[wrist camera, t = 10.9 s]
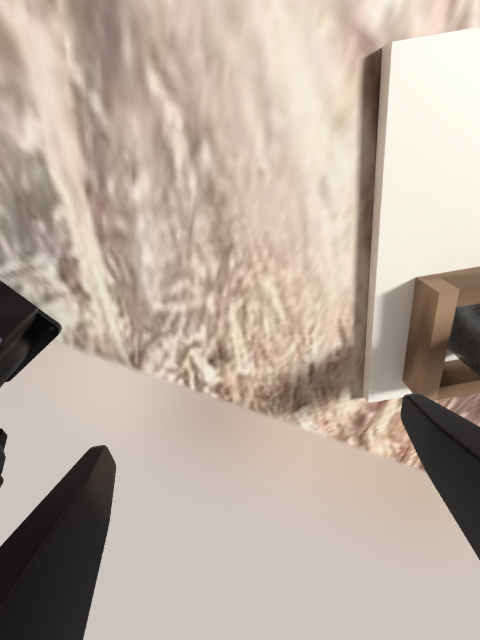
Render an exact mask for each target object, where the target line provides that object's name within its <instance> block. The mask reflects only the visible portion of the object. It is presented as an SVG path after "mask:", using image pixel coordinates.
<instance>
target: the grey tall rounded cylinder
mask: <svg viewBox="0 0 480 640" xmlns="http://www.w3.org/2000/svg"><path fill="white" fill-rule="evenodd" d="M447 349H448V350H449V351H451V352H452V353H453V354H454V355H455V356H456V357H457V358H459V359H460V360H461V361H462V362H463V363H464V364H465V365H467V366H468V367H469V368H470V369H471V370H472V371H473V372H475V373H476V374H477V375H478V376H479V377H480V303H479V304H473V305H467V306H461V307H456V309H455V314H454V319H453V324H452V329H451V334H450V338H449V343H448V348H447Z"/></svg>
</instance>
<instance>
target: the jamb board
mask: <svg viewBox="0 0 480 640" xmlns="http://www.w3.org/2000/svg"><path fill="white" fill-rule="evenodd" d="M479 266H480V27H477V28H471V29H465V30H459V31H454V32H448V33H442V34H436V35H430V36H424V37H418V38H412V39H406V40H400V41H394V42H391V43H389V44H387V45H386V46H384V47H382V60H381V78H380V96H379V114H378V132H377V150H376V168H375V186H374V203H373V221H372V239H371V257H370V275H369V293H368V311H367V329H366V347H365V365H364V383H363V396H364V397H365V399H366V401H367V402H368V403H371V402H377V401H382V400H388V399H394V398H400V397H404V395H406V394H412V392H411V391H410V389H409V388H408V387H407V386H406V384H405V383H404V382H403V381H402V378H403V370H404V363H405V355H406V348H407V340H408V333H409V325H410V317H411V310H412V302H413V295H414V287H415V279H416V277H420V276H426V275H432V274H438V273H444V272H450V271H456V270H462V269H468V268H473V267H479ZM457 359H459V358H457V357H456V356H455V355H454V354H453V353H452V352H451V351H449V350H448V349H447V353H446V358H445V361H451V360H457Z"/></svg>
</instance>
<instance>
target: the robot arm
mask: <svg viewBox="0 0 480 640" xmlns="http://www.w3.org/2000/svg"><path fill="white" fill-rule="evenodd" d="M50 327H52V328H54V329H55V331H53V330H51V329H50ZM61 330H62V327H61V325H60V324H59V323H58V322H56V321H55V320H54V319H52V318H51V317H49V316H48V315H47V314H45V313H44V312H43V311H41V310H40V309H38V308H37V307H36V306H35V305H33V304H32V303H31V302H29V301H28V300H26V299H25V298H24V297H22V296H21V295H20V294H18V293H17V292H15V291H14V290H13V289H11V288H10V287H9V286H7V285H6V284H4V283H3V282H1V281H0V387H1V386H2V385H3V384H4V383H5V382H8V381H10V380H11V379H12V378H14V377H15V376H16V375H17V374H18V373H19V371H21V370H22V369H23V368H24V367H25V366H26V365H27V364H28V363H29V362H30V361H31V360H32V359H33V358H35V357H36V355H38V353H40V352H41V351H42V350H43V349H44V348H45V347H46V346H47V345H48V344H49V343H50V342H51V341H52V340H53V339H54V338H55V337H57V336H58V334H59V333H60V332H61ZM401 420H402V423H403V425H404V427H405V429H406V431H407V433H408V435H409V438H410V440H411V442H412V444H413V446H414V448H415V450H416V452H417V454H418V456H419V459H420V461H421V463H422V465H423V467H424V469H425V471H426V472H427V474H428V476H429V477H430V479H431V481H432V482H433V484H434V486H435V487H436V489H437V490H438V492H439V494H440V496H441V497H442V499H443V501H444V502H445V504H446V505H447V507H448V509H449V510H450V512H451V514H452V515H453V517H454V519H455V520H456V522H457V524H458V525H459V527H460V528H461V530H462V532H463V533H464V535H465V537H466V538H467V540H468V541H469V543H470V545H471V546H472V548H473V550H474V551H475V553H476V555H477V556H478V558H479V560H480V427H479V426H477V425H475V424H474V423H472V422H470V421H468V420H467V419H465V418H463V417H461V416H459V415H458V414H456V413H454V412H452V411H450V410H449V409H447V408H445V407H443V406H441V405H440V404H438V403H436V402H434V401H432V400H431V399H429V398H427V397H425V396H424V395H422V394H420V393H412V394H406V395H404V397H403V400H402V407H401ZM6 439H7V434H6V433H5V432H4V431H3V429H0V487H1V485H2V483H3V478H2V476H1V473H2V470H3V466H4V462H5V454H4V447H5V444H6ZM115 473H116V464H115V461H114V459H113V457H112V455H111V453H110V451H109V449H108V448H107V446H105V445H101V446H96V447H92V448H90V449H89V450H88V451H87V452H86V453H85V454H84V455H83V457H82V458H81V459H80V460H79V461H78V462H77V463H76V464H75V465H74V466H73V468H72V469H71V470H70V471H69V472H68V473H67V474H66V475H65V476H64V477H63V479H62V480H61V481H60V482H59V483H58V484H57V485H56V486H55V487H54V488H53V489H52V491H51V492H50V493H49V494H48V495H47V496H46V497H45V498H44V499H43V500H42V501H41V503H40V504H39V505H38V506H37V507H36V508H35V509H34V510H33V511H32V513H31V514H30V515H29V516H28V517H27V518H26V519H25V520H24V521H23V522H22V524H21V525H20V526H19V527H18V528H17V529H16V530H15V531H14V532H13V533H12V535H11V536H10V537H9V538H8V539H7V540H6V541H5V542H4V543H3V545H1V547H0V640H83V637H84V633H85V629H86V624H87V620H88V616H89V611H90V607H91V602H92V598H93V594H94V589H95V584H96V580H97V576H98V571H99V567H100V563H101V558H102V554H103V549H104V545H105V540H106V536H107V531H108V526H109V521H110V514H111V506H112V498H113V490H114V482H115Z"/></svg>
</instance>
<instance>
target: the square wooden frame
mask: <svg viewBox="0 0 480 640" xmlns="http://www.w3.org/2000/svg"><path fill="white" fill-rule="evenodd" d="M479 303H480V266H479V267H473V268H468V269H462V270H456V271H450V272H444V273H438V274H432V275H426V276H420V277H416V279H415V287H414V295H413V302H412V310H411V317H410V325H409V333H408V340H407V348H406V355H405V363H404V370H403V378H402V381H403V382H404V383H405V384H406V386H407V387H408V388H409V389H410V391H411V392H412V393H420V394H422V395H424V396H425V397H427V398H429V399H431V400H432V401H434V400H439V399H445V398H451V397H457V396H463V395H469V394H475V393H480V377H479V376H478V375H477V374H476V373H475V372H473V371H472V370H471V369H470V368H469V367H468V366H467V365H465V364H464V363H463V362H462V361H461V360H460V359H457V360H451V361H445V358H446V353H447V348H448V343H449V338H450V334H451V329H452V324H453V319H454V314H455V309H456V307H461V306H467V305H473V304H479Z"/></svg>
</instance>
